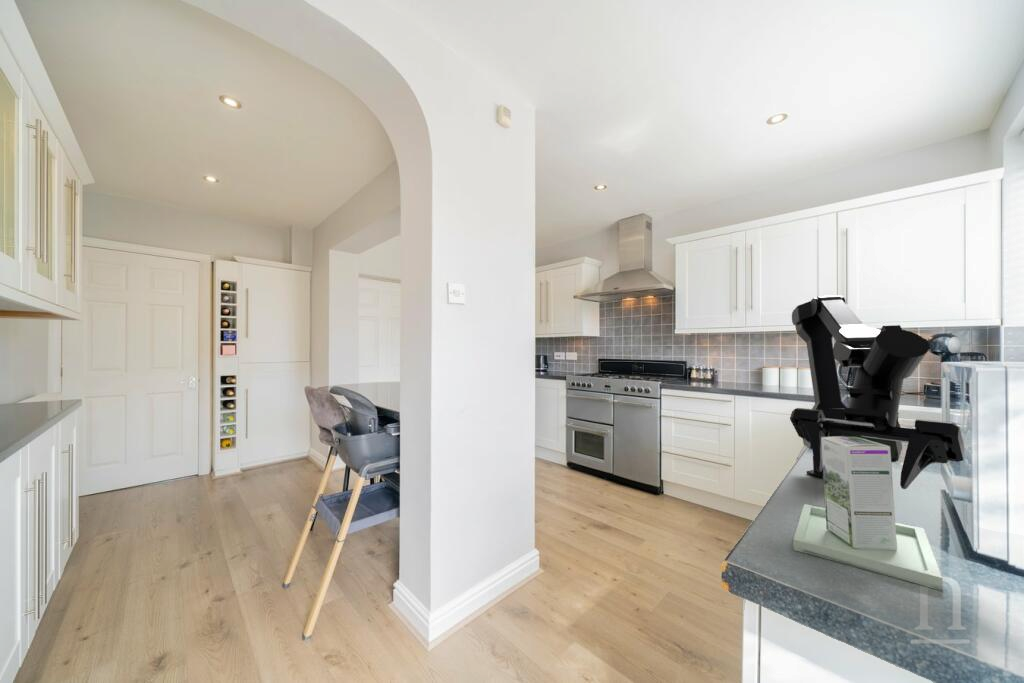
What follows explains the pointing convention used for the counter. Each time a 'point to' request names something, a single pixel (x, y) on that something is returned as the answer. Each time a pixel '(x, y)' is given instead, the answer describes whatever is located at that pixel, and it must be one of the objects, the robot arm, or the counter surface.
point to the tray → (903, 564)
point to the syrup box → (859, 492)
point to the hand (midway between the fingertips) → (857, 478)
